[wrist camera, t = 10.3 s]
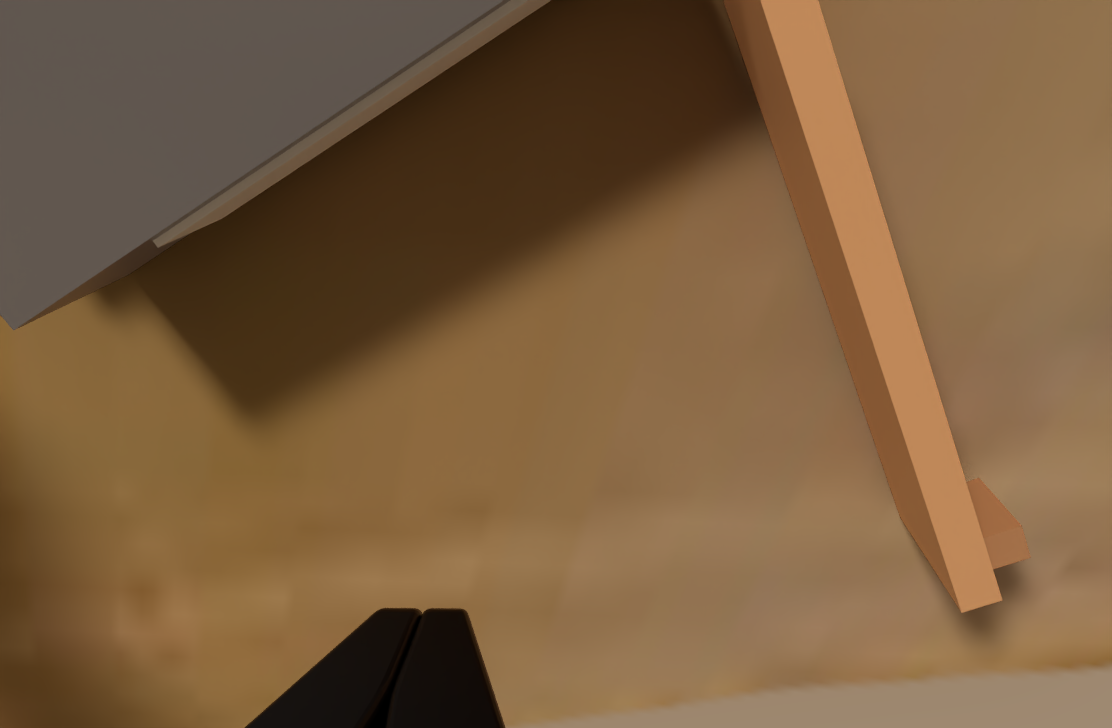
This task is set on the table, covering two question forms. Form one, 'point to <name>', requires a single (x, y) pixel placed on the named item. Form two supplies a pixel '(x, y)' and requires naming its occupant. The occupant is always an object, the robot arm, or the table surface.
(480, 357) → the table surface
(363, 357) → the table surface
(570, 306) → the table surface
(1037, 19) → the table surface
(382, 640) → the robot arm
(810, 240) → the side door
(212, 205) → the block
